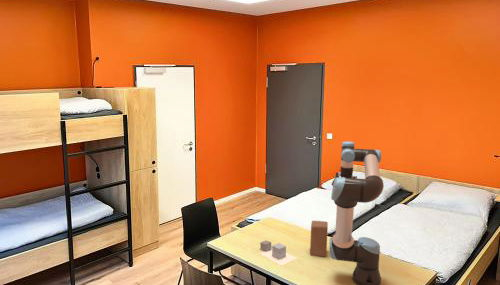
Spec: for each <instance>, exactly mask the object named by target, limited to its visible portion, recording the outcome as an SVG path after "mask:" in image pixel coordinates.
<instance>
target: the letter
mask: <svg viewBox="0 0 500 285" xmlns="http://www.w3.org/2000/svg"><path fill="white" fill-rule="evenodd" d="M258 254H259V255H260V256H262V257H264V258H266V259H268V260H270V261H272V262H274V263H276V264H277V265H279V266H283V265H286V264H288V263H290V262H293V261H295V260H297V259H298V257H296V256H293V255H292V254H289V253H288V252H286V257H284V258H282V259H279V260H278V259H277V258H275V257H273V256H272V250H270V251H267V252H265V251H261V252H259V253H258Z"/></svg>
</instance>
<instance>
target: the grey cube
mask: <svg viewBox="0 0 500 285" xmlns="http://www.w3.org/2000/svg"><path fill="white" fill-rule="evenodd" d="M259 244H260V251H262V252H264V251H265V252H267V251H270V250H272V241H269V240H264V241H261V242H260V243H259Z"/></svg>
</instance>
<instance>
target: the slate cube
mask: <svg viewBox="0 0 500 285" xmlns="http://www.w3.org/2000/svg"><path fill="white" fill-rule="evenodd" d="M271 247H272V256H273V257H275V258H277V259H278V260H279V259H282V258H284V257H286V253H287V246H286V245H285V244H283V243H281V242H278V243H275V244H271Z"/></svg>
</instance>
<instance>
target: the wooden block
mask: <svg viewBox="0 0 500 285" xmlns="http://www.w3.org/2000/svg"><path fill="white" fill-rule="evenodd" d="M328 226H329V224H328V221H324V220H322V221H321V220H311V225H310V243H309V244H310V246H309V247H310V248H309V251H310V252H309V255H310V256H315V257H323V258H326V256H327V248H328V245H327V244H328Z"/></svg>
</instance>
